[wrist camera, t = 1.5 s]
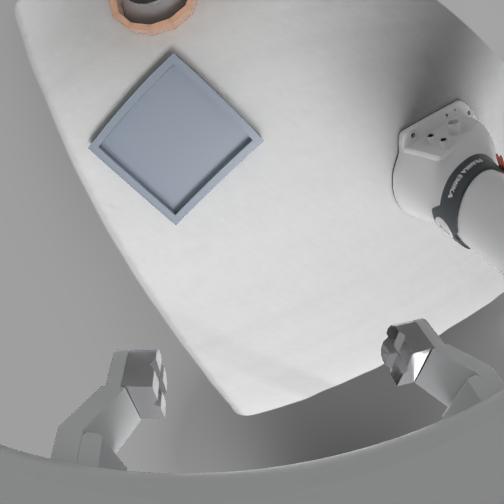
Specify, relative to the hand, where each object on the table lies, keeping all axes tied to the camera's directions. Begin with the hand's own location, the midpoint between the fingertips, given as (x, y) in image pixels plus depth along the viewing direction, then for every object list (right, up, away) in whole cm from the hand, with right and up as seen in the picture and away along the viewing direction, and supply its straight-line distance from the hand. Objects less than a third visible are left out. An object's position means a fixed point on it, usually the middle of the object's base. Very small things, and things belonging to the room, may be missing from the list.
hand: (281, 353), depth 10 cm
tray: (-11, +18, +27) cm, 34 cm away
